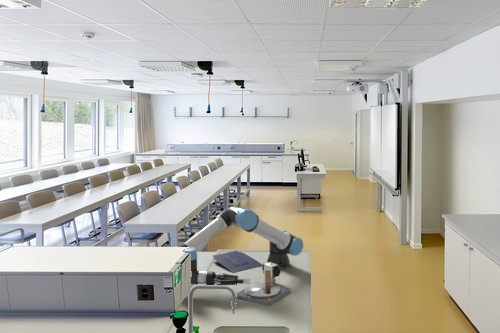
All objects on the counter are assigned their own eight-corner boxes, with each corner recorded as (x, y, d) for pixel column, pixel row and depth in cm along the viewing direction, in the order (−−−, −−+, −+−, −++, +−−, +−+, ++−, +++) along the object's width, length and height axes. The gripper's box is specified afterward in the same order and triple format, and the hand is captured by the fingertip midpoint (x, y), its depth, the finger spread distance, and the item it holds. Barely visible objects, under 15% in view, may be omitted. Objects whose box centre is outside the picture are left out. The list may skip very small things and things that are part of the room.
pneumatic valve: (274, 286, 251) (274, 265, 250) (262, 280, 260) (261, 261, 259) (282, 283, 255) (281, 263, 254) (269, 278, 264) (268, 259, 263)
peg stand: (240, 288, 244) (239, 263, 243) (271, 283, 251) (270, 259, 250) (252, 300, 227) (252, 274, 225) (285, 295, 233) (285, 269, 232)
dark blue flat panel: (238, 253, 314) (238, 248, 313) (263, 269, 290) (263, 264, 289) (209, 260, 300) (209, 255, 299) (232, 276, 276) (233, 271, 275)
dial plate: (256, 284, 254) (256, 281, 254) (289, 291, 242) (289, 288, 242) (234, 297, 236) (234, 293, 236) (269, 305, 224) (269, 302, 224)
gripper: (211, 281, 244) (252, 283, 239) (203, 289, 231) (247, 292, 226) (210, 268, 243) (252, 270, 238) (203, 275, 231) (246, 278, 225)
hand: (249, 281), depth 232 cm, fingers closed
